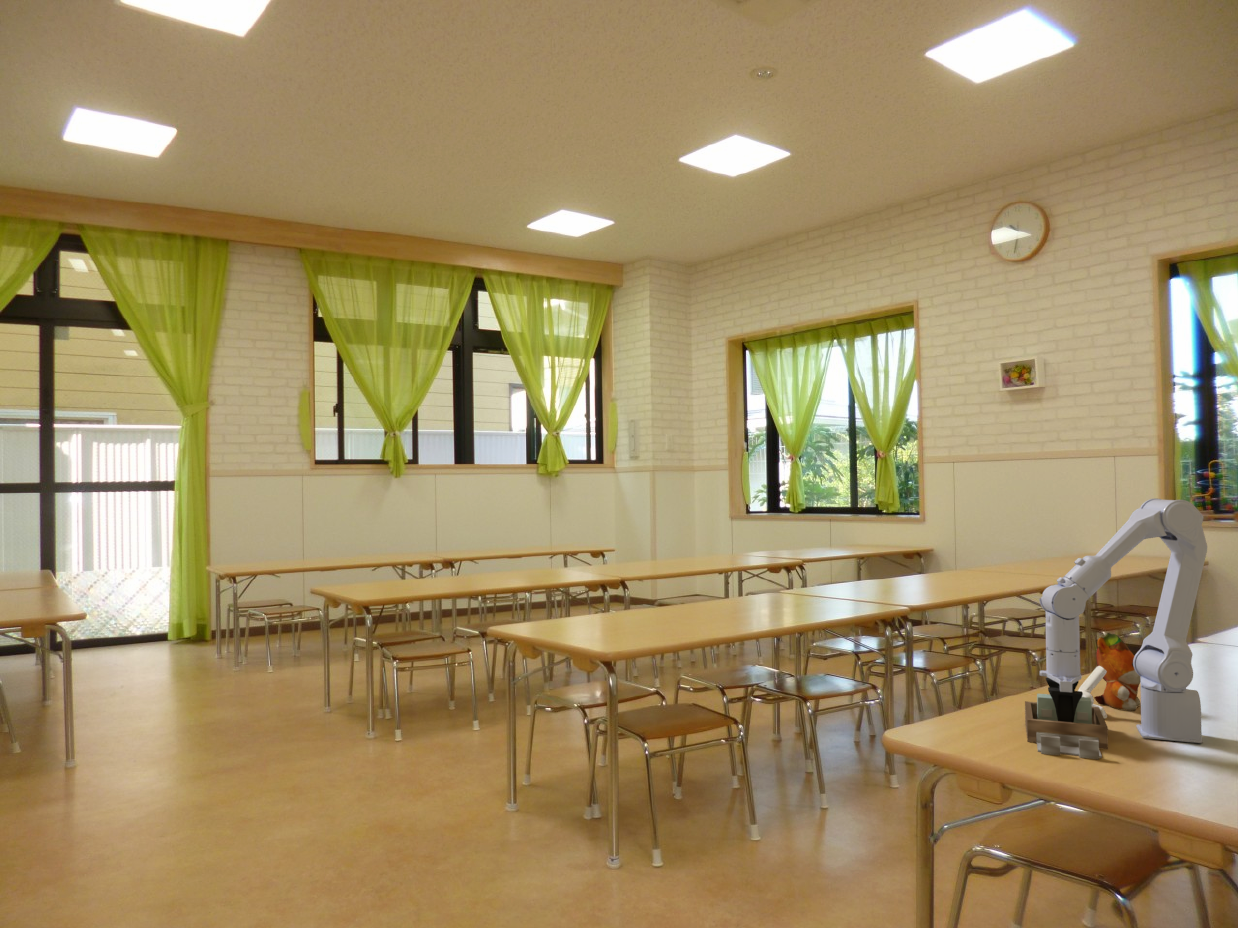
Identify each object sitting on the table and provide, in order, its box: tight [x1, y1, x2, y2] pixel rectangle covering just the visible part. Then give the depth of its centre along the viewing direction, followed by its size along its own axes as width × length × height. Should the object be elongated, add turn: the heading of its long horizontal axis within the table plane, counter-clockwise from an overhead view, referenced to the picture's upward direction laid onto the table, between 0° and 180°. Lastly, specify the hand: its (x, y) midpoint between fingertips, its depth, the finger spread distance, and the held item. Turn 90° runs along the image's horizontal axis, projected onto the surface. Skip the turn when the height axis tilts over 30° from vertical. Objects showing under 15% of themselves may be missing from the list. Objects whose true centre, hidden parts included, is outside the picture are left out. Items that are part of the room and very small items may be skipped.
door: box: [1036, 693, 1092, 724], centre depth 166 cm, size 9×3×6 cm, turn 67°
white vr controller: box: [1077, 665, 1108, 720], centre depth 180 cm, size 8×12×7 cm
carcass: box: [1024, 700, 1109, 760], centre depth 163 cm, size 13×21×4 cm, turn 157°
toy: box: [1093, 632, 1141, 712], centre depth 187 cm, size 11×9×15 cm
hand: (1064, 721), depth 166 cm, fingers open, 7 cm apart
